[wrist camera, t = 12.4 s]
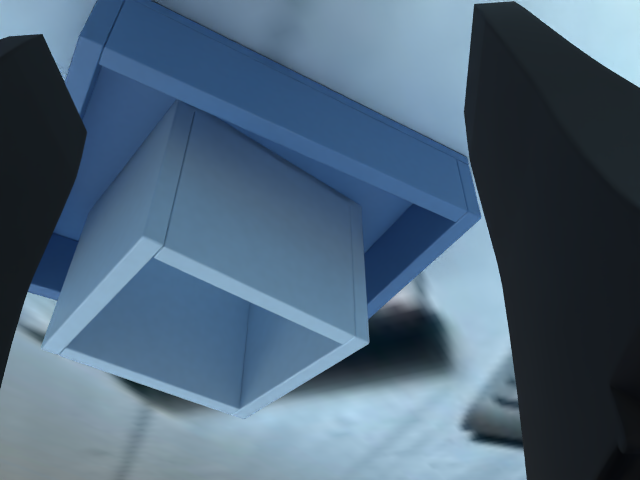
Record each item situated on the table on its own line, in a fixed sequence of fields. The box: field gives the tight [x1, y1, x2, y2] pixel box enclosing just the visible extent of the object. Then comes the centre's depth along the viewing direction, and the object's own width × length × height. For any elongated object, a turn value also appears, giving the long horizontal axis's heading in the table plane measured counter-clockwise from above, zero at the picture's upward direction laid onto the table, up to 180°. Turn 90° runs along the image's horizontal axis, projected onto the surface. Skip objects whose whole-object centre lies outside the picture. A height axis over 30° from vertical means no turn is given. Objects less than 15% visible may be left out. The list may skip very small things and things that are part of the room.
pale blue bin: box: [41, 99, 369, 419], centre depth 24 cm, size 9×8×7 cm
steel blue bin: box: [28, 0, 481, 319], centre depth 26 cm, size 15×13×4 cm
